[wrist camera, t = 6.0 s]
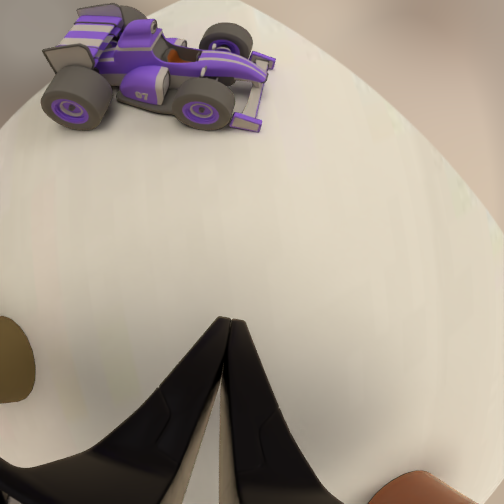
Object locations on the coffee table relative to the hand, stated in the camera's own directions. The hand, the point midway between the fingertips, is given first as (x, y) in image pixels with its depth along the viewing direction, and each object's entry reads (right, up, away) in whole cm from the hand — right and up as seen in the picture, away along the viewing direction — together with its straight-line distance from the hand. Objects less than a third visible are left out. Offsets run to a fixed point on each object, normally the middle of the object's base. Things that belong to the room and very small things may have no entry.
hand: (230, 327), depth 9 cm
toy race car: (-6, +14, +10) cm, 18 cm away
